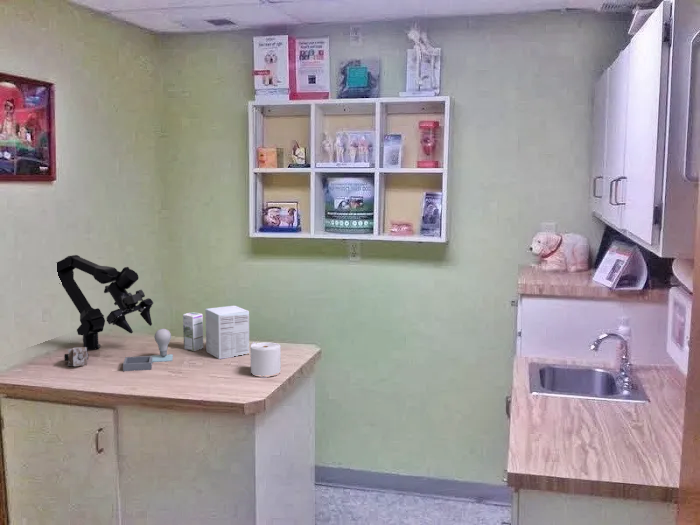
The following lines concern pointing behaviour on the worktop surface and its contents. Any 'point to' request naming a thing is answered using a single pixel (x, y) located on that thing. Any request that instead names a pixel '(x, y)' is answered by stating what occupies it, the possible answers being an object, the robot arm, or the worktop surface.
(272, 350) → the toilet tissue
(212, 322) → the supplement box
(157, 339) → the lightbulb
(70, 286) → the robot arm
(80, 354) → the caster wheel
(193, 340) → the syrup box
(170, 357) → the coaster
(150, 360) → the grey square frame
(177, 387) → the worktop surface
